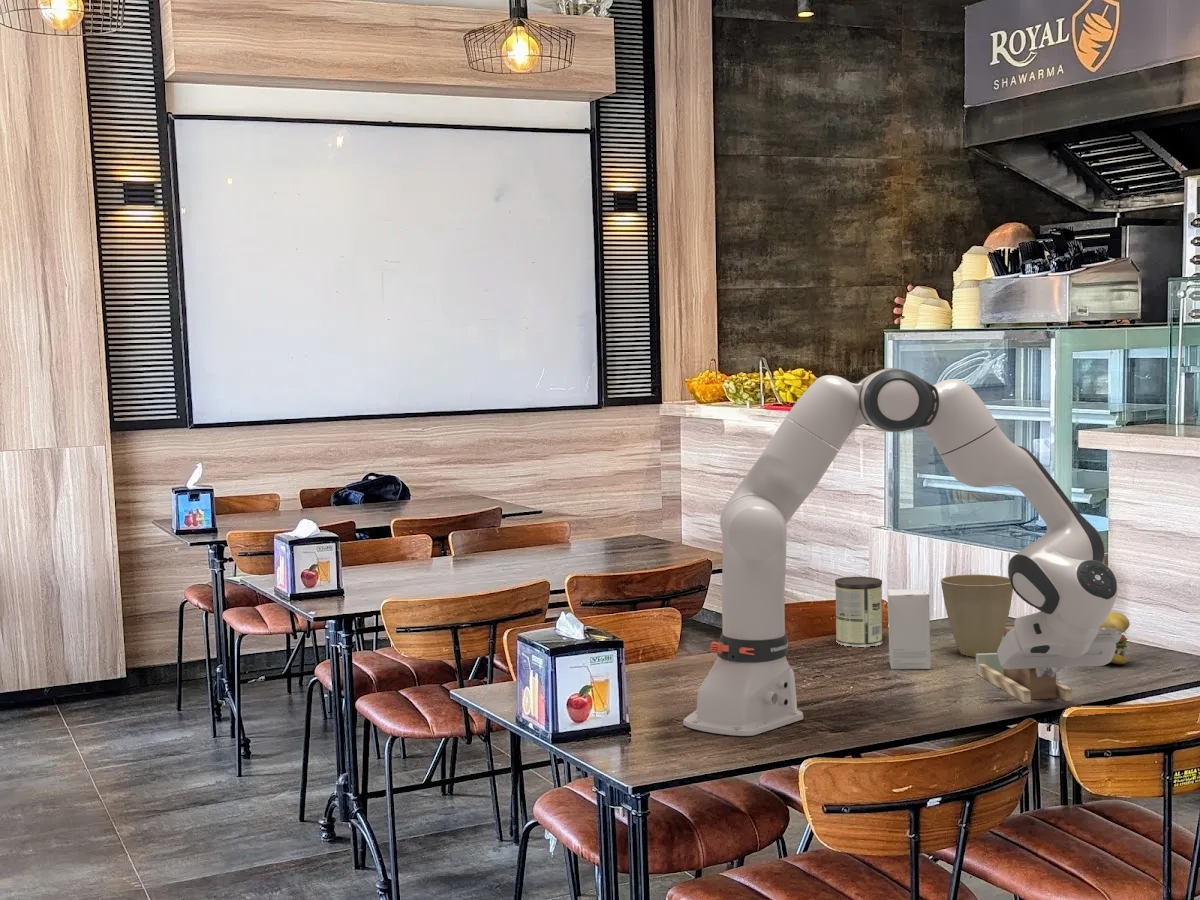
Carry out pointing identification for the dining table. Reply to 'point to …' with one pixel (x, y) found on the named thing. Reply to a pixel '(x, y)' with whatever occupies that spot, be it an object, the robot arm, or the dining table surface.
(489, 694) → the dining table surface
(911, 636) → the skincare box
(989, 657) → the end stop
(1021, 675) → the block
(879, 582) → the coffee can
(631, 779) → the dining table surface
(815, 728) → the dining table surface
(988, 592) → the plant pot
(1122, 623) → the hamburger
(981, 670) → the chute
